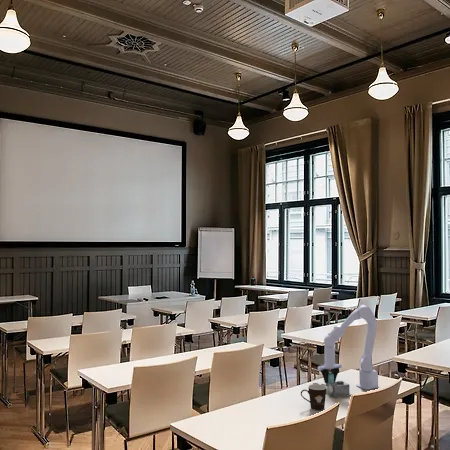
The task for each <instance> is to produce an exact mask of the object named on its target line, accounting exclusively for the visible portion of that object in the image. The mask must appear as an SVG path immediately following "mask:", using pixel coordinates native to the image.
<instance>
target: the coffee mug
mask: <svg viewBox="0 0 450 450" xmlns="http://www.w3.org/2000/svg"><path fill="white" fill-rule="evenodd" d="M324 385H325V384H324ZM324 385H321V384H319V383H318V384H313V383H312V384H309V385H307V387H308V389H302V390H301V391H300V396H301V397H302V398H303V399H304V400H306V401H307V402H309V405H310V409H311V410H314V411H323V410H325V407H326V397H327V396H326V395H327V394H326V388H327V387H326V386H327V385H326V386H324ZM303 392H307V393H308V395H309V399H308V398H306V397H305V396H303Z"/></svg>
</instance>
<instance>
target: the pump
mask: <svg viewBox="0 0 450 450" xmlns="http://www.w3.org/2000/svg"><path fill="white" fill-rule="evenodd" d="M328 372H329V374H328V383H332V382H334V374H333V373H332V372H331V371H328ZM328 383H325V385H326V386H328Z"/></svg>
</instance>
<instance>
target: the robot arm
mask: <svg viewBox="0 0 450 450" xmlns="http://www.w3.org/2000/svg"><path fill="white" fill-rule="evenodd" d="M361 318H362V319H363V320H365V322H366V323H367V328H366V335H365V341H364V345H363V346H364V347H363V352H362V356H361V357H360V359H359V364H360V368H359V383H358V384H356V387H358V388H360V389H363V390H367V391H368V390H374V389H379V388H380V386H379V374H378V371H377V370H375V369H374V368H373V367H374V365H373V353H374V347H375V346H374V345H375V339H376V333H377V327H378V321H377V318H376V317H375V315H374V313H373V310H372V309H371V308H370V307H369V306H368V305H367V304H360V305H359V306H358V307H357V308H356V309H354V310H353V311H352V312H351V313H350V314H349V315H348V317H346V319H345V320H344V321H343V322H342V323H341V324H338V325H334V327H333V329H332V330H331V331H330V332H328V333H327V335H326V336H324V340H323V343H324V350H323V351H324V353H323V357H324V360H323V361H324V362H323V363H324V364H323V365H319V366H317V371H319V372H320V373H321V375H322V378H323V381H324V383H325V384H326V383H328V374H329V372H332V373H333V374H334V382H337V377H338V374H339V373H340V369H342V364H341V363H336V349H335V345H336V342H338V341H339V340H340V339H341V338H342V337H343V336H344V335H345V334H346V329H347V328H349V327H350V325H352V323H354V321H356V320H361ZM328 370H330V371H328Z"/></svg>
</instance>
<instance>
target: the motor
mask: <svg viewBox="0 0 450 450" xmlns="http://www.w3.org/2000/svg"><path fill="white" fill-rule="evenodd" d="M320 385H324V386H326V387H327V388H326V395H327V396H329V397H331V398H333V399H338V398H345V397H351V395H352V396H353V394H352V393H351V392H350V384H349V383H348V382H345V381H343V380H338V381H337V380H336V381H335V382H332V383H328V386H327V385H326V384H324V383H321V384H320Z"/></svg>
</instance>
